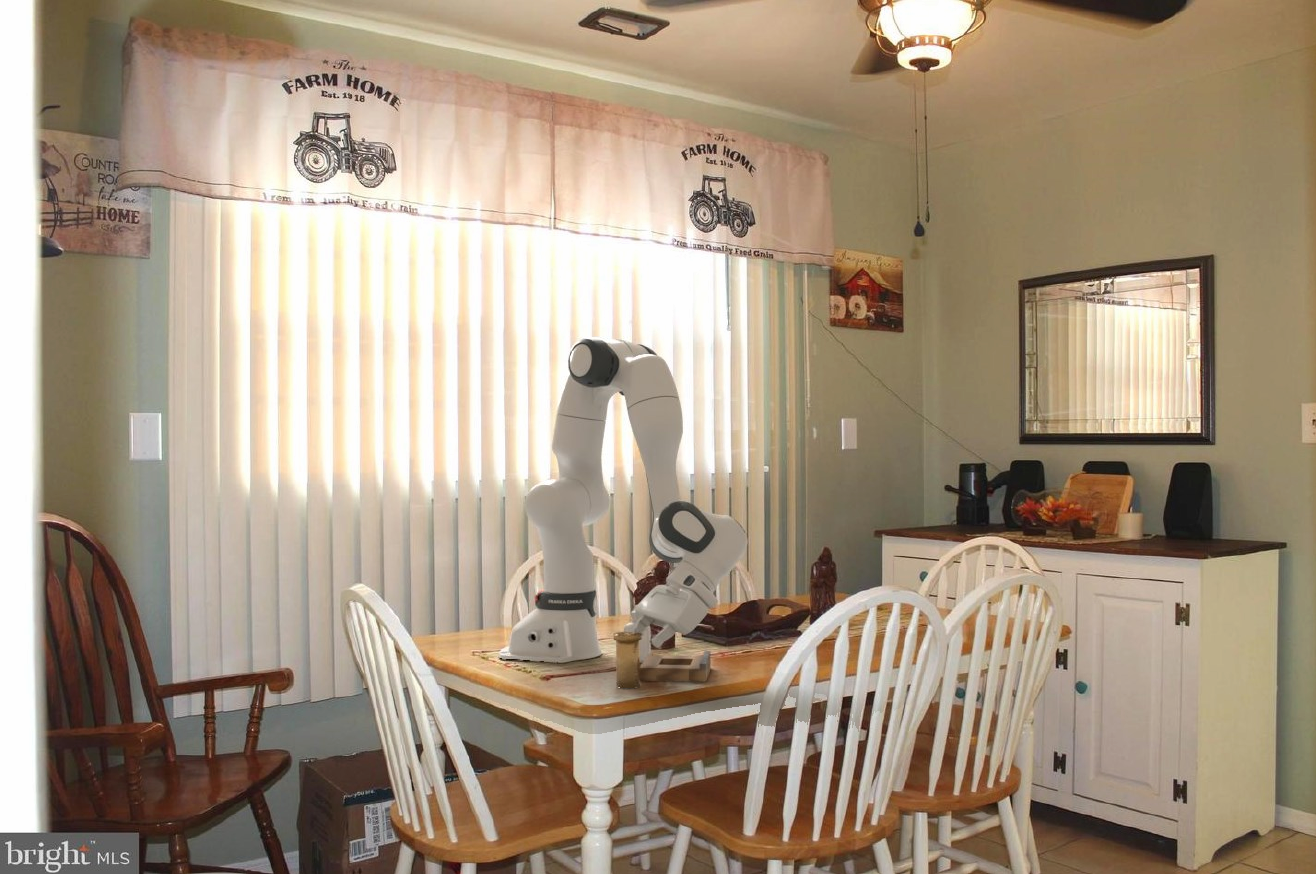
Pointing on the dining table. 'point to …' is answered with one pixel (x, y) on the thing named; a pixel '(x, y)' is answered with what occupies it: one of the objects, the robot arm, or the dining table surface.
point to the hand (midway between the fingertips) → (643, 641)
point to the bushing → (627, 659)
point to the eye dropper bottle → (645, 641)
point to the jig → (675, 668)
